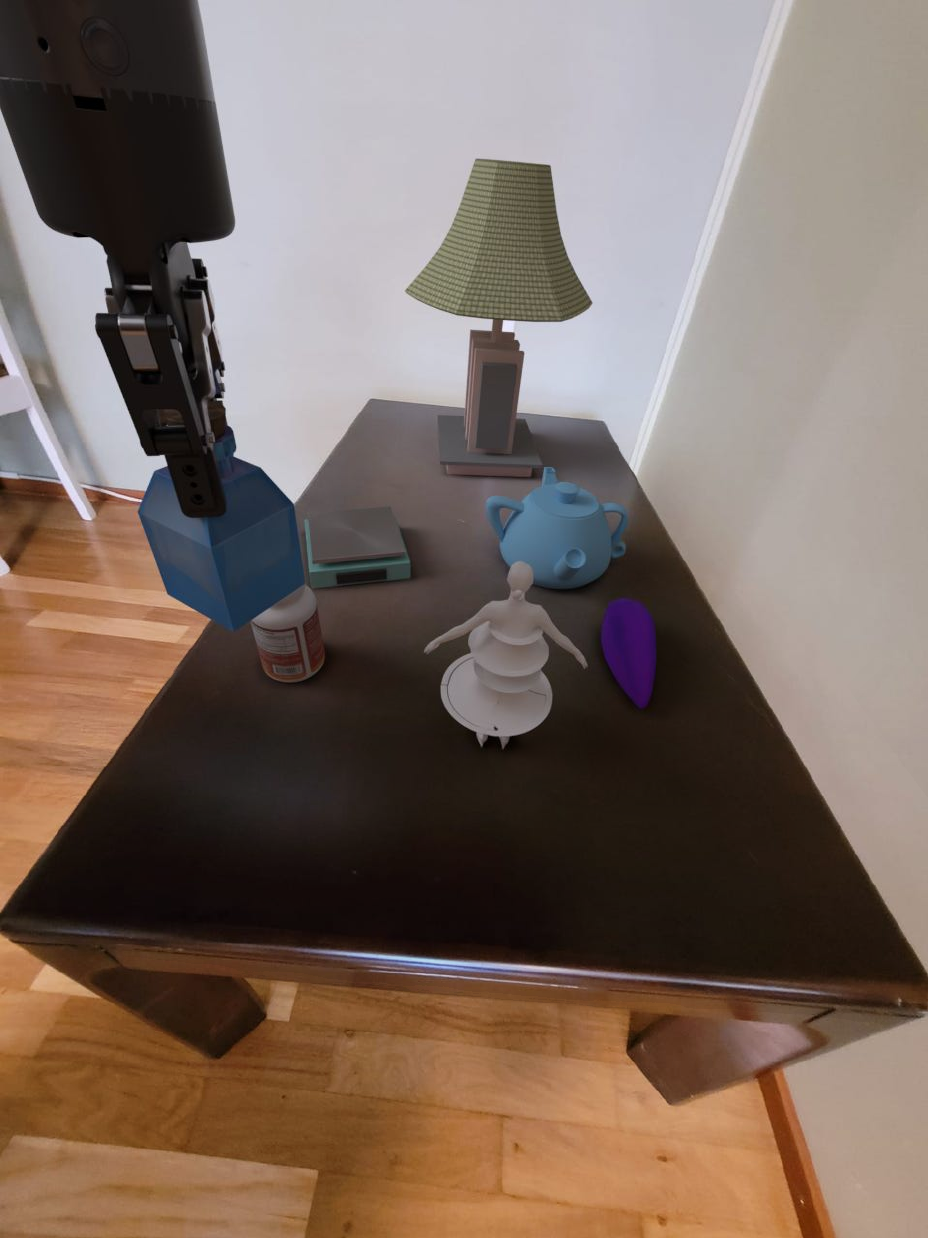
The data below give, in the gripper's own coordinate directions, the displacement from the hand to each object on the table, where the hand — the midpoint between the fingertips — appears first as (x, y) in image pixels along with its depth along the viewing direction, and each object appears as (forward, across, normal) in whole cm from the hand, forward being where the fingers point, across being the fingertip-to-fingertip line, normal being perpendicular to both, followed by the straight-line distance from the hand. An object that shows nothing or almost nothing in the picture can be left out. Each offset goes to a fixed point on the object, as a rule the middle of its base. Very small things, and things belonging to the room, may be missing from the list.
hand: (211, 485), depth 31 cm
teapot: (+25, -22, +35) cm, 48 cm away
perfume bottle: (+8, 0, 0) cm, 8 cm away
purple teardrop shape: (+25, -3, +36) cm, 44 cm away
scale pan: (+22, -28, +10) cm, 37 cm away
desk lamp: (+25, -56, +35) cm, 71 cm away
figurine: (+25, +3, +19) cm, 32 cm away
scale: (+25, -28, +10) cm, 39 cm away
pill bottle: (+25, -10, +2) cm, 27 cm away
